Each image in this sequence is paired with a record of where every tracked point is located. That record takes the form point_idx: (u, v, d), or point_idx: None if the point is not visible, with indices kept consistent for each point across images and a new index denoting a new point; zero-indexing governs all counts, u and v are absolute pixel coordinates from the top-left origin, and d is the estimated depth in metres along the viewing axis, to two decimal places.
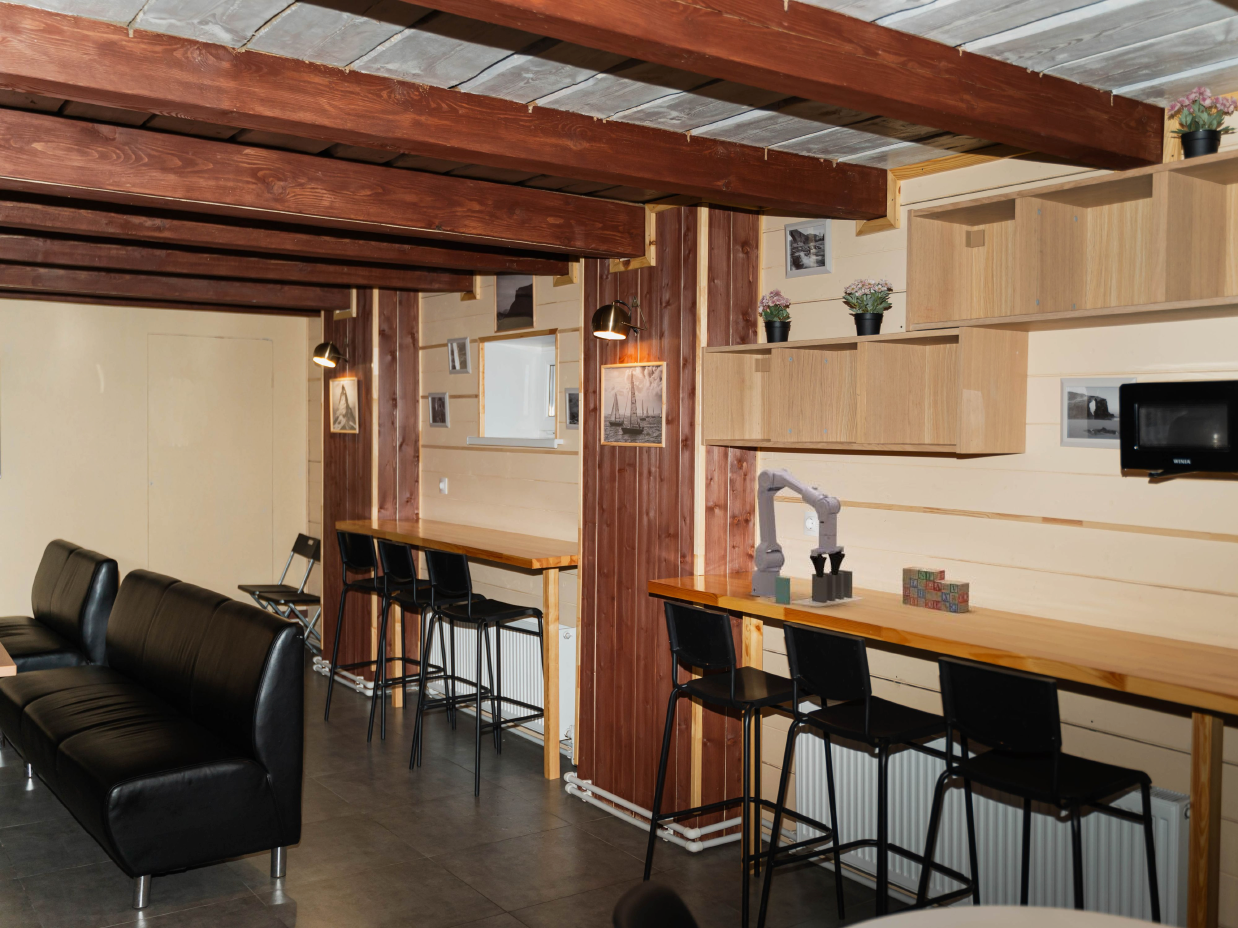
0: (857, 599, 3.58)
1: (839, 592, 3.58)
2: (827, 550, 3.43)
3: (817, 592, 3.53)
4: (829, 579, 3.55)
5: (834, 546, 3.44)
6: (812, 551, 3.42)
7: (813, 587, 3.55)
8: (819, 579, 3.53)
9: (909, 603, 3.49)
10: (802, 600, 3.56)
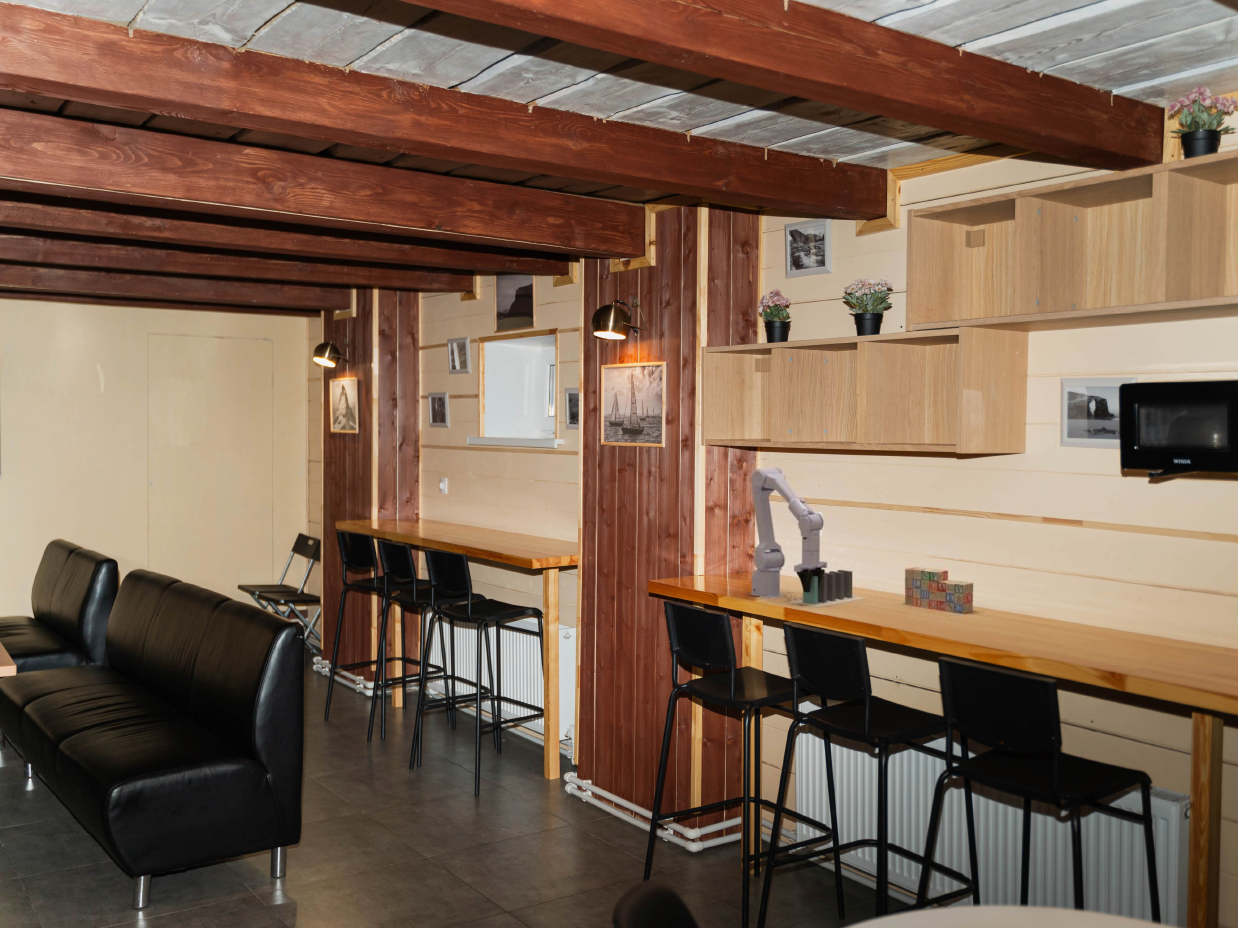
0: (857, 599, 3.58)
1: (839, 592, 3.58)
2: (810, 566, 3.47)
3: None
4: (829, 579, 3.55)
5: (817, 562, 3.48)
6: (795, 567, 3.46)
7: None
8: None
9: (912, 604, 3.47)
10: (802, 600, 3.56)
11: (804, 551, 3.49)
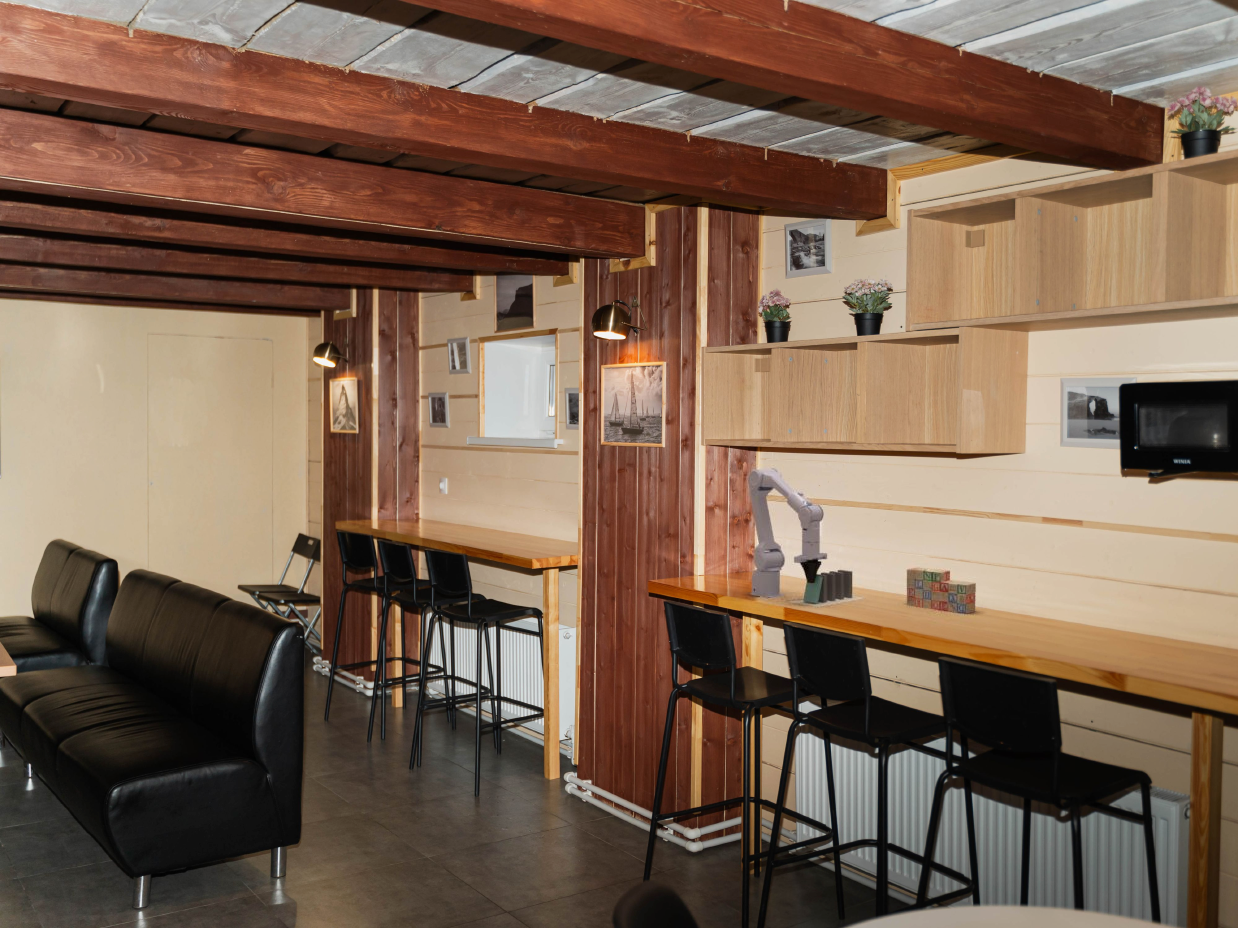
0: (857, 599, 3.58)
1: (839, 592, 3.58)
2: (810, 557, 3.47)
3: None
4: (829, 579, 3.55)
5: (817, 553, 3.48)
6: (795, 558, 3.46)
7: None
8: None
9: (914, 604, 3.47)
10: (802, 600, 3.56)
11: (804, 542, 3.49)
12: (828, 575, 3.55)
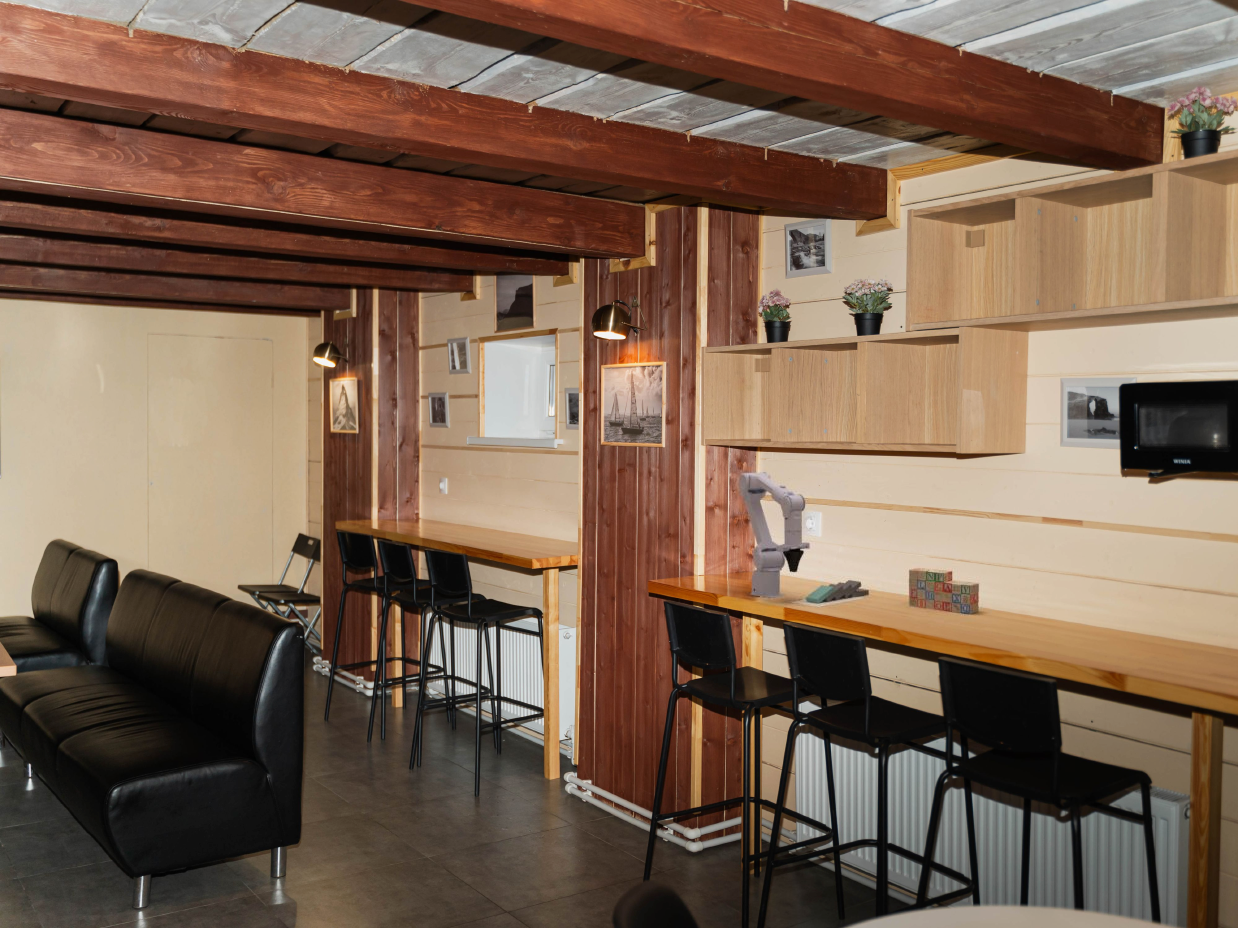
0: (857, 599, 3.58)
1: None
2: (792, 546, 3.50)
3: None
4: (844, 586, 3.60)
5: (799, 542, 3.51)
6: (777, 547, 3.49)
7: None
8: (835, 586, 3.58)
9: (916, 605, 3.45)
10: (802, 600, 3.56)
11: (786, 532, 3.52)
12: (846, 584, 3.62)
